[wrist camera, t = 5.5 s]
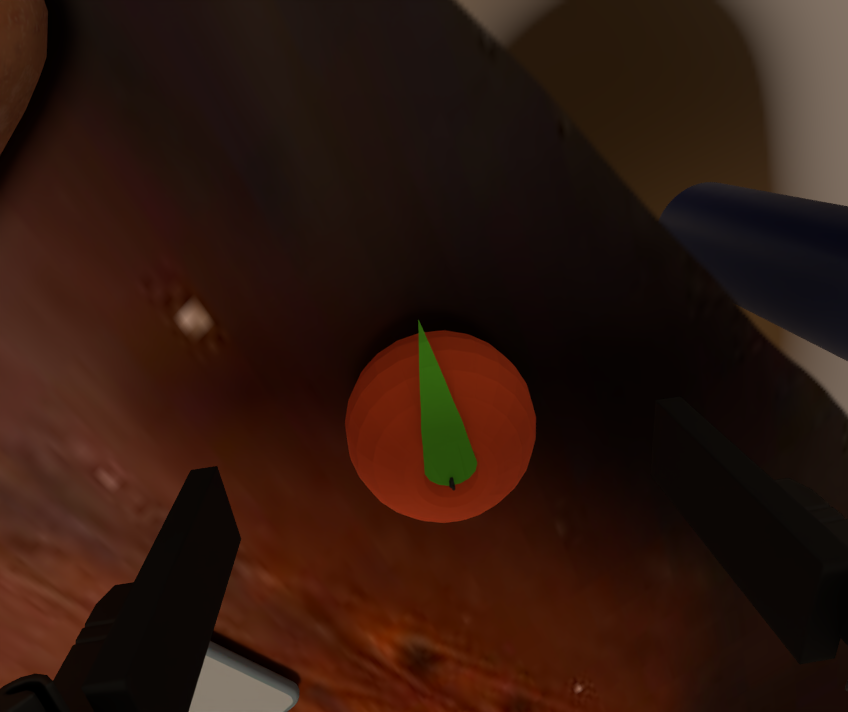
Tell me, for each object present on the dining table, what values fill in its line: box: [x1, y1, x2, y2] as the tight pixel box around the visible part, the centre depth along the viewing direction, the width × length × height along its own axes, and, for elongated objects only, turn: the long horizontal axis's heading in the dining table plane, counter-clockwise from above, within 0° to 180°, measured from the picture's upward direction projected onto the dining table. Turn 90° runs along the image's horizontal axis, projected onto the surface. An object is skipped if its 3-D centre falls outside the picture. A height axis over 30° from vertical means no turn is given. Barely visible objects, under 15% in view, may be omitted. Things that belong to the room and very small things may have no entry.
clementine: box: [345, 319, 536, 523], centre depth 20 cm, size 8×7×7 cm
